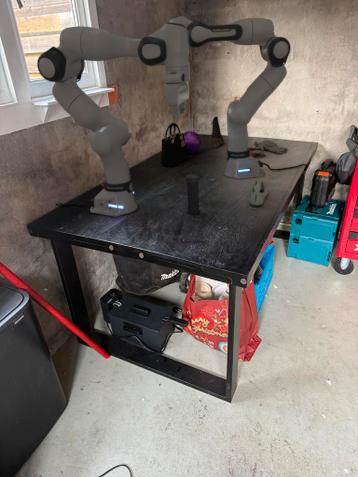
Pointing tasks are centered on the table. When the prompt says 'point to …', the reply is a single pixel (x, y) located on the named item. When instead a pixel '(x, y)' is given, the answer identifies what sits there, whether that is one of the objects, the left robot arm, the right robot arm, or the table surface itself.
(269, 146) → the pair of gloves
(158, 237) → the table surface
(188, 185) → the black cylinder
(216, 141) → the boot
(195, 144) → the decorative orb
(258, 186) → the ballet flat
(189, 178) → the lid
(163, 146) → the handbag
